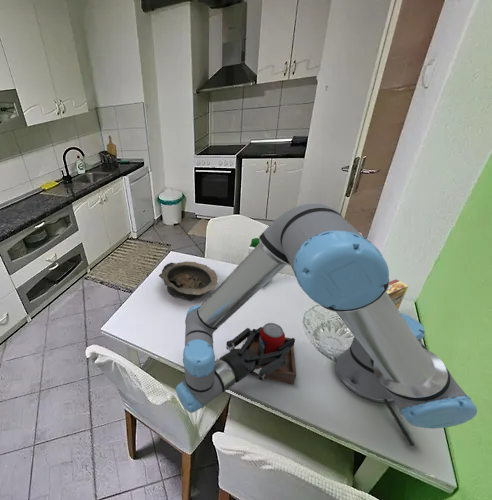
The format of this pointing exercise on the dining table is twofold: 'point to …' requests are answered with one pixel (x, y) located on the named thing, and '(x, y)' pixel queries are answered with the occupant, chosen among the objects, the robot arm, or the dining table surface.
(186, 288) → the stone bowl
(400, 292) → the candy box
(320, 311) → the dining table surface
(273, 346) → the beverage can
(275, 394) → the dining table surface
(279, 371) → the holder
